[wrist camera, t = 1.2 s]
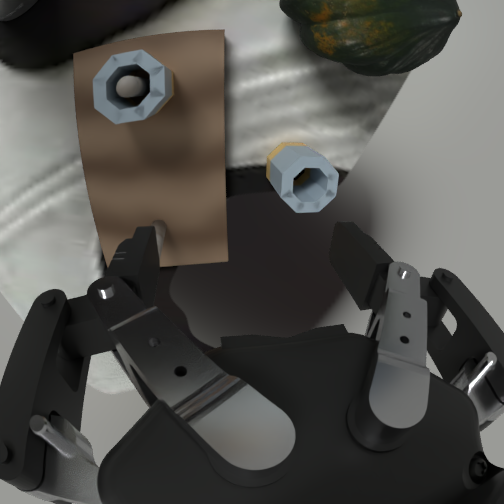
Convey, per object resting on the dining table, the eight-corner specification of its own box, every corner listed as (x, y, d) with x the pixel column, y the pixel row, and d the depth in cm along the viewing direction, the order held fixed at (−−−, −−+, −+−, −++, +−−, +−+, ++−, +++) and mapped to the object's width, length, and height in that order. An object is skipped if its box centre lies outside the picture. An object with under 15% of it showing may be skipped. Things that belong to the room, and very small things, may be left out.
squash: (235, -57, 11) (385, -11, 7) (366, -76, 9) (500, -14, 5) (272, 48, 24) (367, 135, 20) (369, 12, 22) (463, 84, 18)
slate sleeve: (267, 142, 27) (283, 156, 22) (315, 143, 27) (340, 157, 22) (265, 190, 30) (279, 213, 25) (311, 188, 30) (333, 211, 25)
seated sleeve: (116, 65, 18) (92, 60, 13) (173, 56, 19) (164, 46, 14) (118, 118, 21) (96, 128, 16) (174, 111, 22) (166, 117, 17)
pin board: (81, 55, 18) (37, 48, 11) (222, 33, 20) (232, 9, 13) (112, 261, 31) (93, 312, 24) (226, 251, 33) (235, 303, 26)
